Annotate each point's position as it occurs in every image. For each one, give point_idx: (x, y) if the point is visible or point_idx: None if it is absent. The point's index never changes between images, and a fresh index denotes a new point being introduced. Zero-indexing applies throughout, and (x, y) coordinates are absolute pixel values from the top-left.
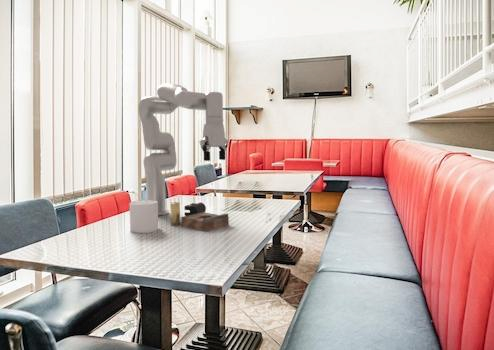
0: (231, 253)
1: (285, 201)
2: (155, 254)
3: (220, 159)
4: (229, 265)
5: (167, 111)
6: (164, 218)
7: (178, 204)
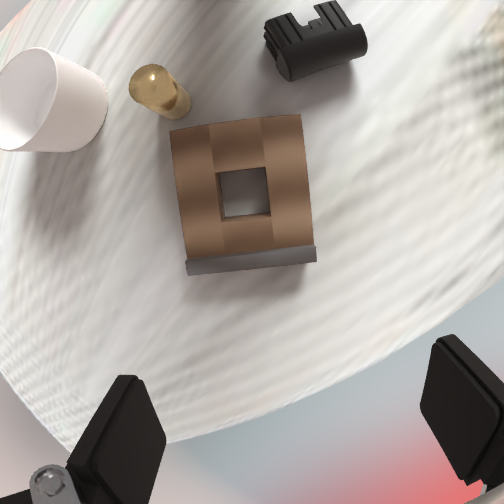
0: None
1: None
2: (27, 331)
3: (433, 353)
4: None
5: None
6: (207, 2)
7: (154, 103)
